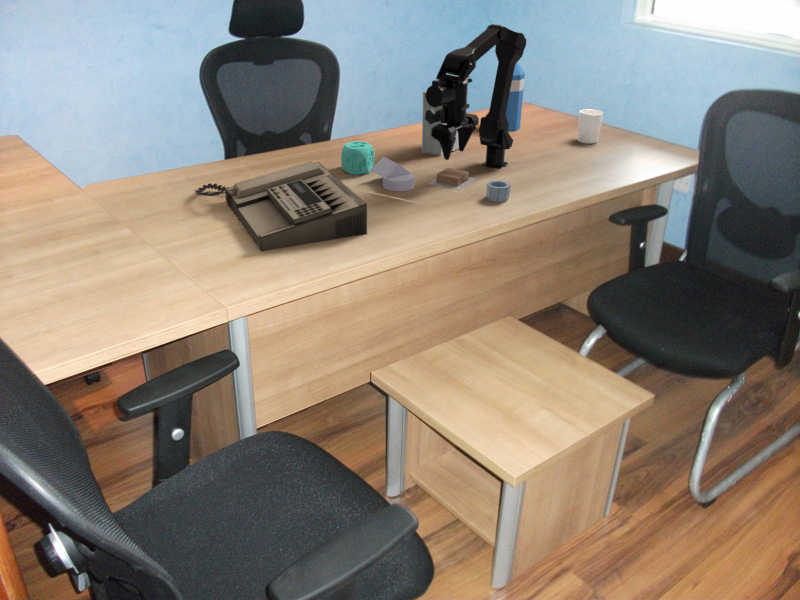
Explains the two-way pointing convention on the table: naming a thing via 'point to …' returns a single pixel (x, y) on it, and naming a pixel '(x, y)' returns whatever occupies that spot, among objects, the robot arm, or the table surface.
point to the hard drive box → (429, 142)
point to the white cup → (589, 125)
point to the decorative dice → (357, 157)
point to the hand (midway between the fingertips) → (454, 155)
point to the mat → (452, 185)
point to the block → (452, 177)
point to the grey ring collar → (498, 191)
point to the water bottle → (515, 99)
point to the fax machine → (295, 207)
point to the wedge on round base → (394, 175)
